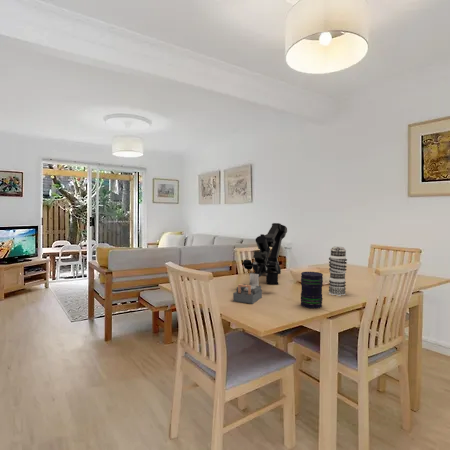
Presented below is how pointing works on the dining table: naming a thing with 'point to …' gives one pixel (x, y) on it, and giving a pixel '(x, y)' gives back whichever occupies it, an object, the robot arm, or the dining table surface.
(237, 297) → the grey walled tray
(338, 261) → the decorative candle
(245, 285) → the lug
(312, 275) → the storage jar
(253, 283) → the tapered wooden notched block
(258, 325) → the dining table surface
